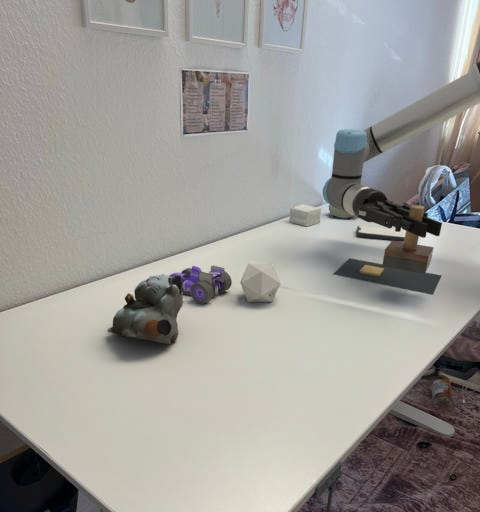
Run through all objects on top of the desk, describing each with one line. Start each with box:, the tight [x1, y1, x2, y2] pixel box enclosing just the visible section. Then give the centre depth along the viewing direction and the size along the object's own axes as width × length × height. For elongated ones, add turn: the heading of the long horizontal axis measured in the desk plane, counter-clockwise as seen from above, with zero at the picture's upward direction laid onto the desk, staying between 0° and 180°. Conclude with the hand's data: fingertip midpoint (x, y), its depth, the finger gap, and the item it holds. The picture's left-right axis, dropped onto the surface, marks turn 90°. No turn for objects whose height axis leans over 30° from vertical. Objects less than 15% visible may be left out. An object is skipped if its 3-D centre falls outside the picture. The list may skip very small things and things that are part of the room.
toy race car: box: [168, 265, 233, 305], centre depth 109 cm, size 10×15×6 cm, turn 57°
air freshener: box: [328, 204, 355, 220], centre depth 171 cm, size 11×8×10 cm
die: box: [239, 263, 282, 303], centre depth 106 cm, size 8×9×10 cm
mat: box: [332, 257, 442, 296], centre depth 120 cm, size 24×14×1 cm, turn 61°
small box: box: [288, 203, 322, 227], centre depth 164 cm, size 8×8×5 cm
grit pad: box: [359, 265, 384, 277], centre depth 122 cm, size 5×5×1 cm
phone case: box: [356, 225, 406, 242], centre depth 153 cm, size 9×2×16 cm
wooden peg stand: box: [382, 204, 434, 274], centre depth 103 cm, size 9×7×13 cm
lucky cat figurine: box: [106, 274, 184, 345], centre depth 90 cm, size 15×12×14 cm
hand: (432, 230), depth 97 cm, fingers closed on wooden peg stand, 3 cm apart
